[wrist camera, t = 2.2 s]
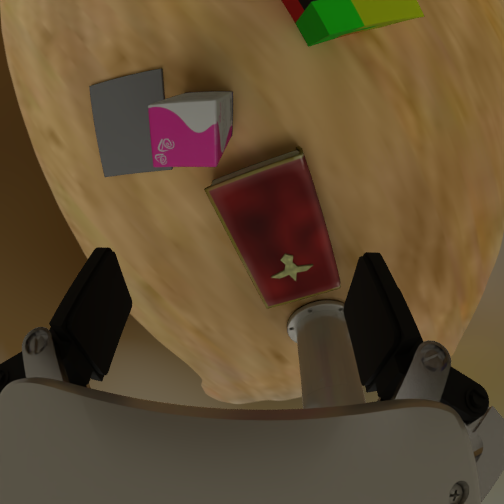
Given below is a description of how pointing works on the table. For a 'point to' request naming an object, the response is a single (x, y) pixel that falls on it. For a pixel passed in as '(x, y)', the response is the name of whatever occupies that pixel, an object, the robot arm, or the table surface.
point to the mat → (126, 121)
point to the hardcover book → (277, 228)
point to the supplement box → (191, 129)
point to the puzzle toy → (347, 16)
